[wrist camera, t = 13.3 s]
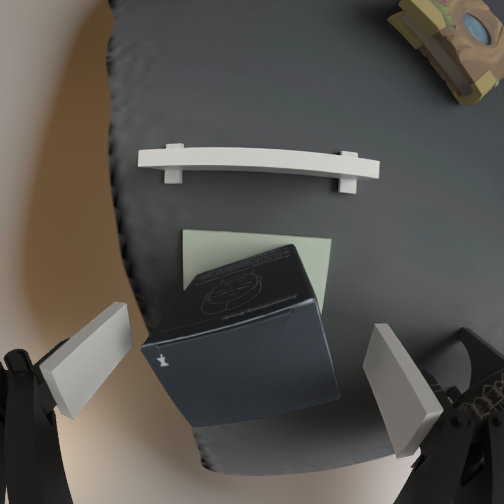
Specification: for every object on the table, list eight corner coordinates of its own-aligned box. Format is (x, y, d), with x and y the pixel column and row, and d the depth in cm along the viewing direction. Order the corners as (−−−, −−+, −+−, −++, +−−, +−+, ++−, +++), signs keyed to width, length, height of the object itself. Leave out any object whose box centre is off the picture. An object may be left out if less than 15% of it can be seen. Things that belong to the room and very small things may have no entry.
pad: (184, 229, 21) (182, 229, 20) (330, 238, 20) (331, 239, 20) (187, 332, 23) (186, 335, 22) (315, 343, 22) (315, 345, 22)
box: (222, 334, 22) (189, 430, 12) (196, 273, 21) (134, 344, 11) (315, 308, 21) (344, 402, 11) (294, 240, 20) (317, 296, 9)
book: (450, -5, 12) (469, -22, 7) (509, 68, 14) (533, 59, 9) (385, 21, 15) (404, -6, 10) (461, 115, 17) (494, 105, 12)
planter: (429, 309, 21) (550, 438, 3) (498, 329, 20) (585, 410, 3) (368, 412, 24) (409, 549, 6) (444, 413, 24) (495, 508, 6)
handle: (169, 145, 19) (140, 134, 14) (355, 154, 18) (379, 144, 13) (167, 183, 20) (137, 183, 15) (353, 193, 19) (377, 195, 14)
